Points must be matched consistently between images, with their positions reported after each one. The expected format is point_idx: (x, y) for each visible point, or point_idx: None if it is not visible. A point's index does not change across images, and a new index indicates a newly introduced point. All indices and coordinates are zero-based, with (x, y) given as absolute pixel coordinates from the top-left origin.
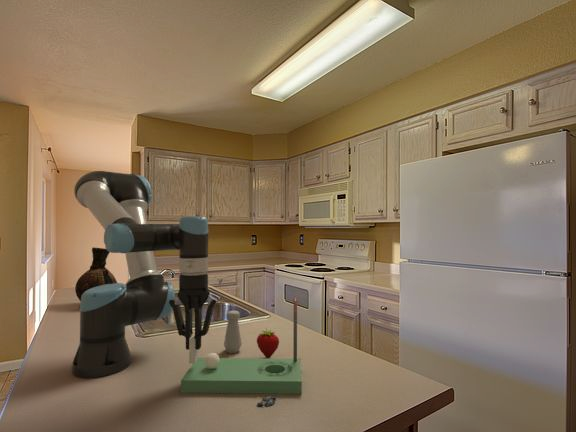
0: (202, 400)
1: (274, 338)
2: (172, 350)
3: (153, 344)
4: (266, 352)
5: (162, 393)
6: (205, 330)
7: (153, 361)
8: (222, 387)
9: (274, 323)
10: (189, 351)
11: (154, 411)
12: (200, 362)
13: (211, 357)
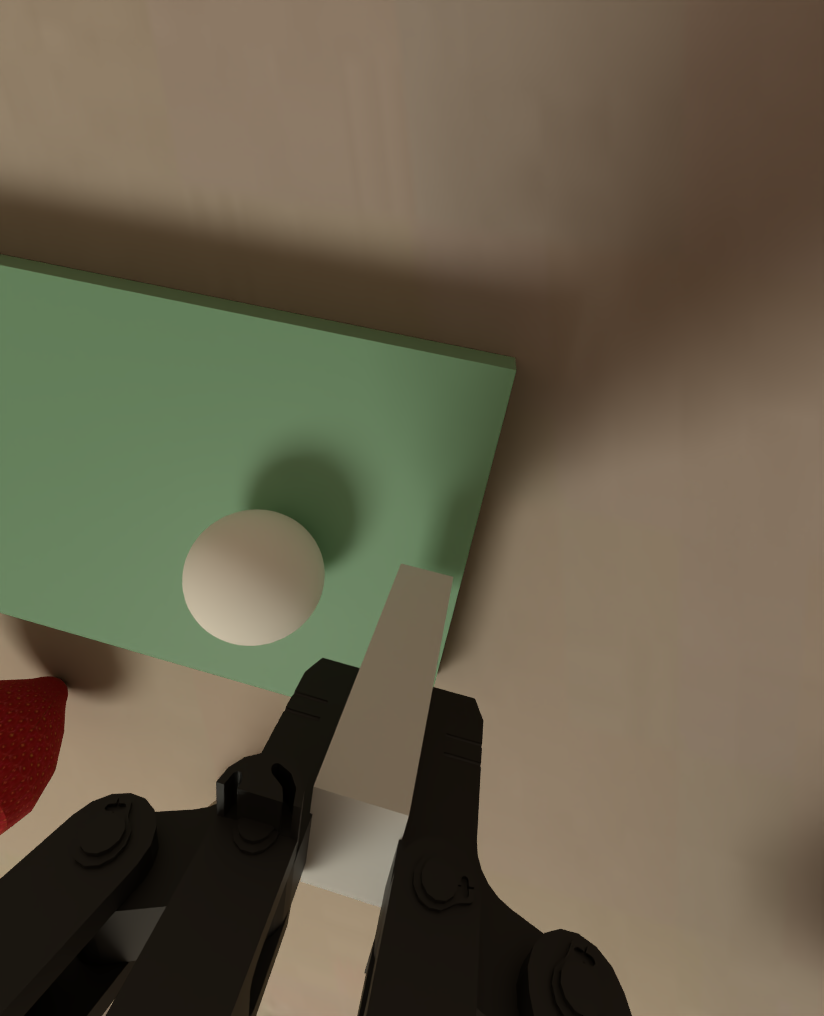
0: (335, 191)
1: None
2: (600, 916)
3: (718, 1010)
4: (13, 691)
5: (662, 368)
6: (15, 894)
7: (723, 835)
8: (190, 297)
9: None
10: (434, 655)
11: (740, 12)
12: None
13: (223, 560)
